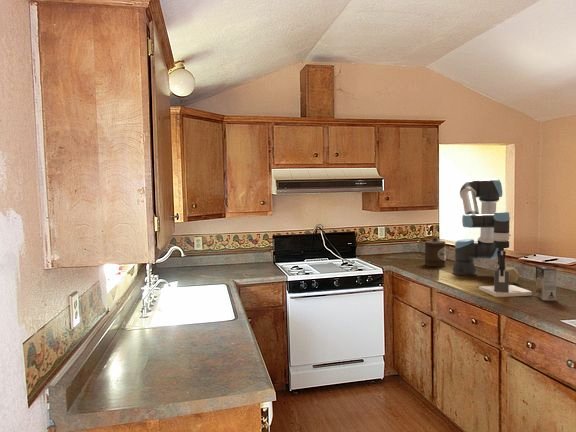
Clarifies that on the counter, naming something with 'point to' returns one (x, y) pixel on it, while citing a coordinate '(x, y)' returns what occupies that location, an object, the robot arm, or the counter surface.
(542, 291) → the coffee box
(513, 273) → the low-poly potato
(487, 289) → the panel
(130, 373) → the counter surface
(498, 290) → the grey block with stripe
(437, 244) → the wooden container
